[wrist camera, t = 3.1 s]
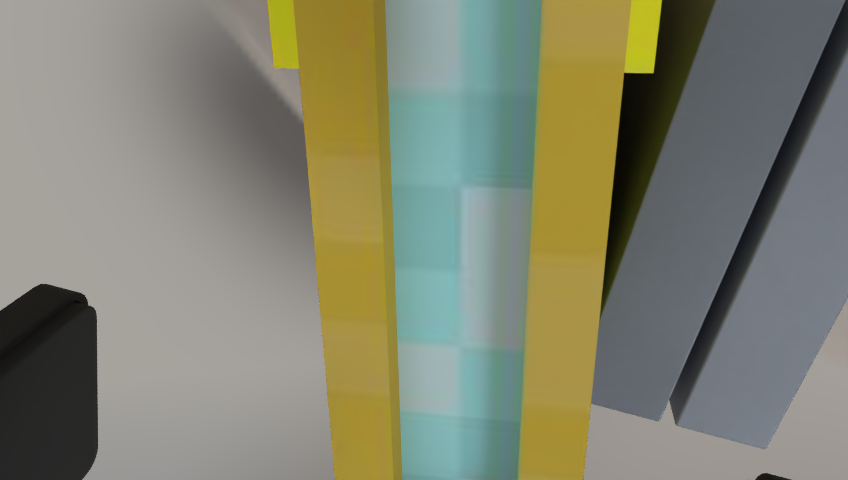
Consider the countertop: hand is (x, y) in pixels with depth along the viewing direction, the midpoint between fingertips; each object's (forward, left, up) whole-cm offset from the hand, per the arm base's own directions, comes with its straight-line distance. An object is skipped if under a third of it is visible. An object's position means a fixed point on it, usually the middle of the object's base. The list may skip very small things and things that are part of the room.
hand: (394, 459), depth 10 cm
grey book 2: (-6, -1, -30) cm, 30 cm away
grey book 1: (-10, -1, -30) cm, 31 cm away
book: (0, 0, -30) cm, 30 cm away
